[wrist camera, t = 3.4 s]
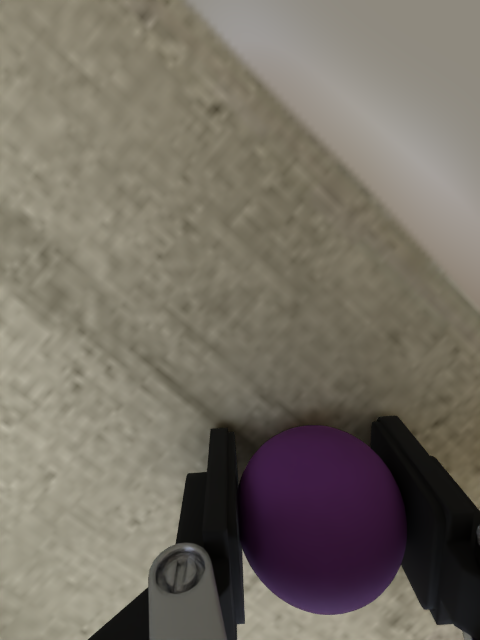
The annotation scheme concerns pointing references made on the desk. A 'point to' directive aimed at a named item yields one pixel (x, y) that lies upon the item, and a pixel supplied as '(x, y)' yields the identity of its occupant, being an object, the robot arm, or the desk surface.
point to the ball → (321, 519)
